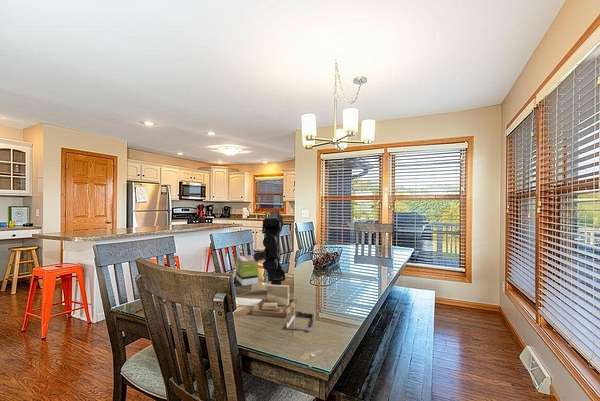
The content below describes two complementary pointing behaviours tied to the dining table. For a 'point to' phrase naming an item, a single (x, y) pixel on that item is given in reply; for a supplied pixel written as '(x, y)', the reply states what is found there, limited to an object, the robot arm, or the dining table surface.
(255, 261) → the robot arm
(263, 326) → the dining table surface
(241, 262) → the tea box
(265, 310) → the offcut middle
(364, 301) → the dining table surface
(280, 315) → the rack
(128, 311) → the dining table surface
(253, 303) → the mat
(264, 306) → the offcut top
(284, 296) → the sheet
